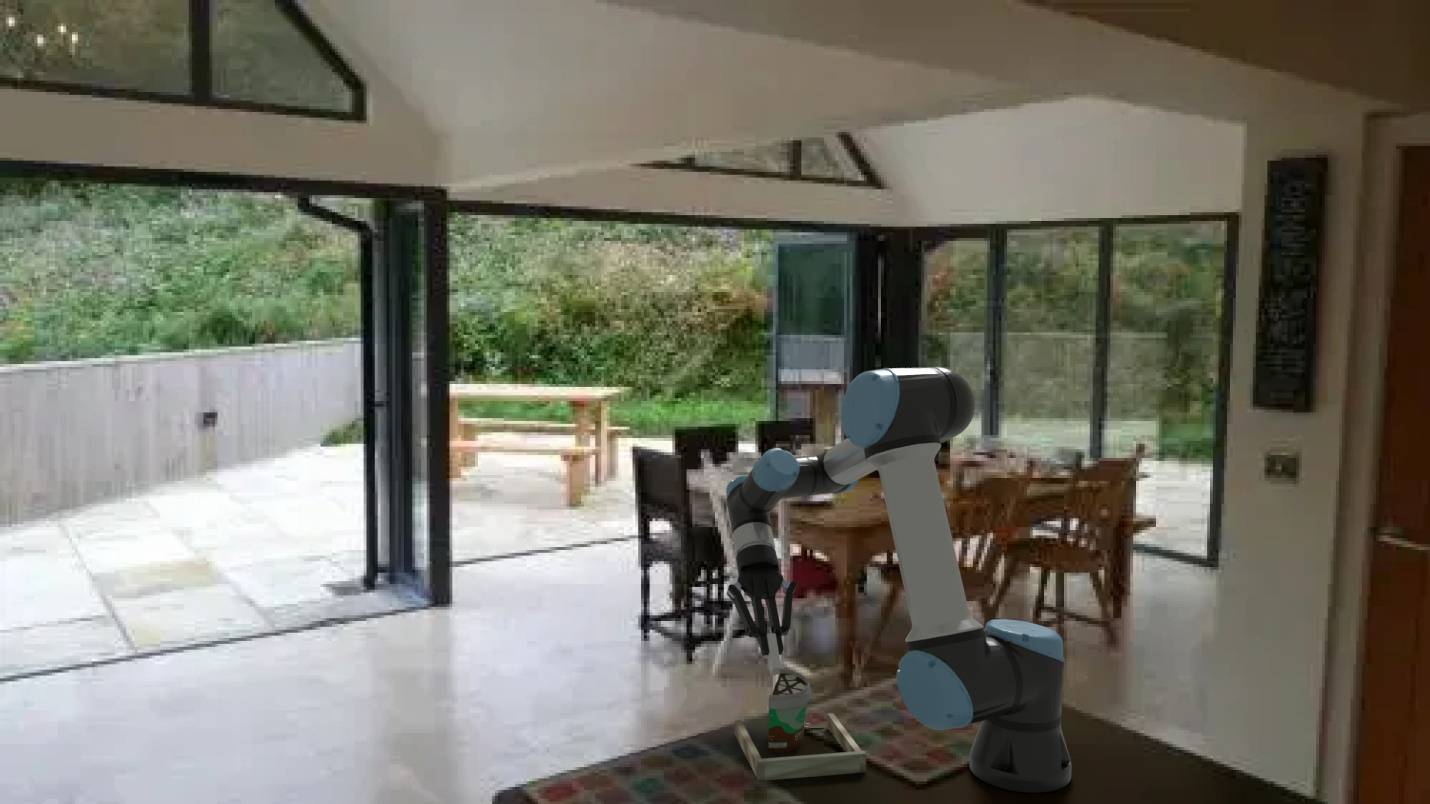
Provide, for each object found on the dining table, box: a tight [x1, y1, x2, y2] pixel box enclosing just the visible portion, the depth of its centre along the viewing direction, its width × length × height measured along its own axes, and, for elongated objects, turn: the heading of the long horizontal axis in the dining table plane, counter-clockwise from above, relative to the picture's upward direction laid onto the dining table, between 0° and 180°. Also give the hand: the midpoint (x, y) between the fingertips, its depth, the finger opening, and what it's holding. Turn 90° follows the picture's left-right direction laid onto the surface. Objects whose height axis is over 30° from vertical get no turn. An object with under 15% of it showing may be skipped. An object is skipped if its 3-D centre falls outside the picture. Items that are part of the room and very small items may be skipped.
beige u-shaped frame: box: [734, 712, 867, 781], centre depth 176 cm, size 18×17×3 cm
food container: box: [767, 668, 813, 753], centre depth 180 cm, size 12×6×10 cm, turn 168°
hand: (775, 671), depth 189 cm, fingers closed
